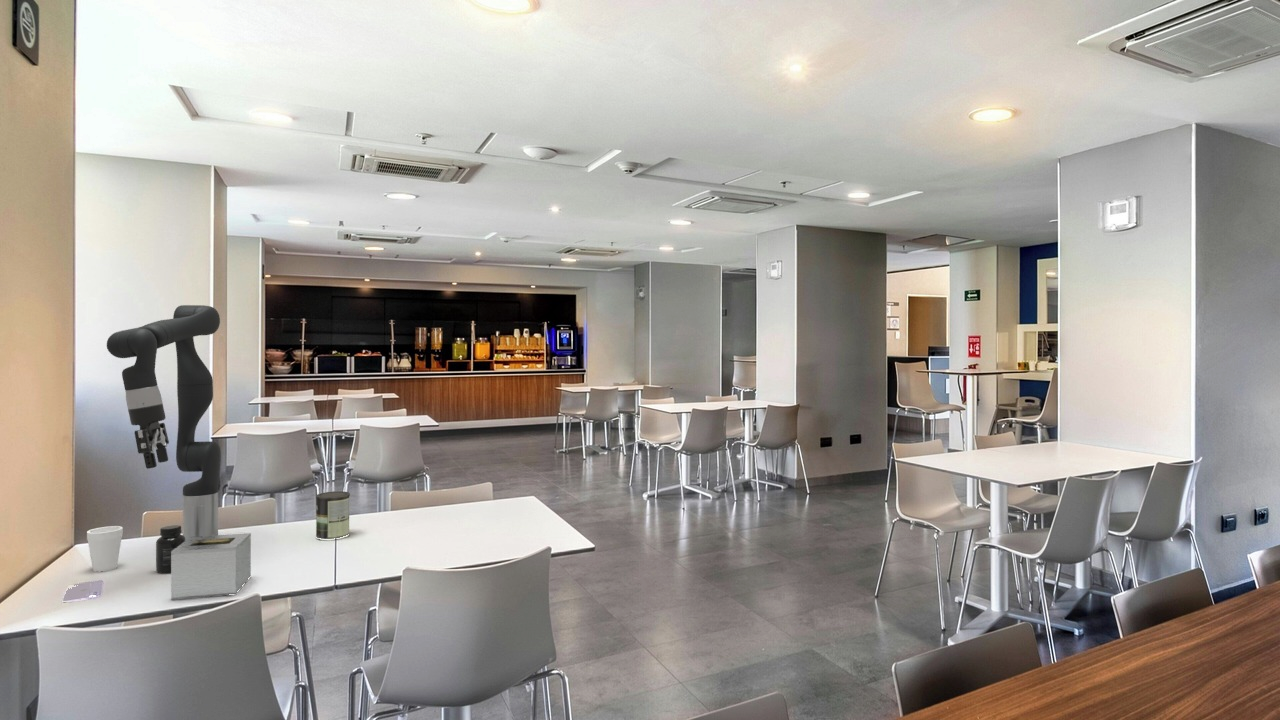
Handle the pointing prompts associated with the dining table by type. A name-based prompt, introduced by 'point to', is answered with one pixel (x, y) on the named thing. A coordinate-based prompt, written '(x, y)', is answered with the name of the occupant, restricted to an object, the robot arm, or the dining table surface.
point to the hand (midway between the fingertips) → (157, 464)
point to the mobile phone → (85, 591)
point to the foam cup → (104, 547)
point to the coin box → (210, 566)
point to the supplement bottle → (167, 547)
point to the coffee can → (332, 514)
